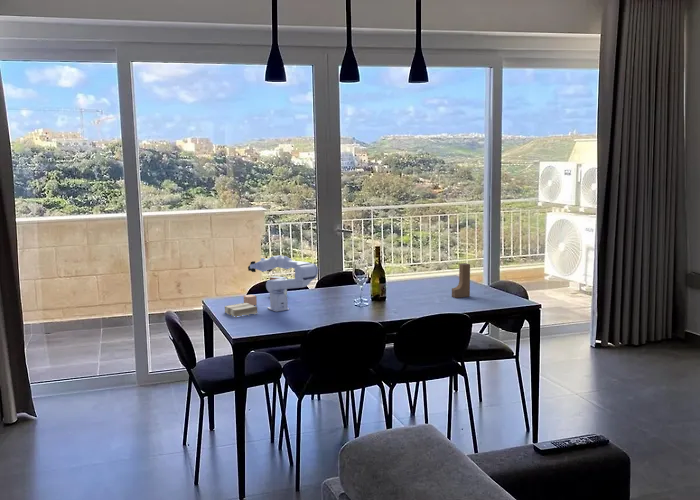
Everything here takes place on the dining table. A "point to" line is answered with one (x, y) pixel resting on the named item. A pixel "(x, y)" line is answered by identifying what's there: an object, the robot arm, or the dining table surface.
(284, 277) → the white rounded block
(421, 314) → the dining table surface
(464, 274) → the wooden block
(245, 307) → the birch base block
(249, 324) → the dining table surface
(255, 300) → the terracotta cube
